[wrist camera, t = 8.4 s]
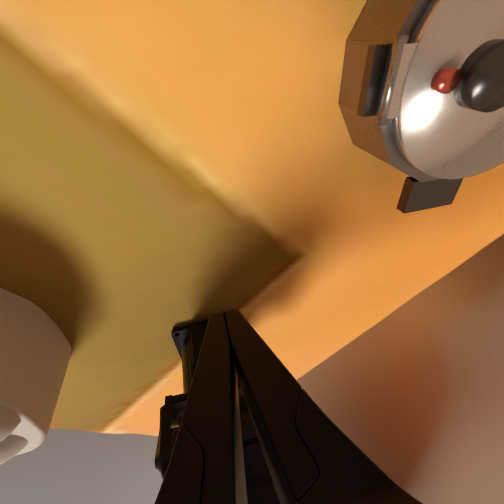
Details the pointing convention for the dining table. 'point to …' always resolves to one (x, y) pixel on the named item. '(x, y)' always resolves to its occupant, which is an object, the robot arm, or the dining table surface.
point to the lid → (449, 89)
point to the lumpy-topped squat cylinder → (28, 373)
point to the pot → (370, 92)
